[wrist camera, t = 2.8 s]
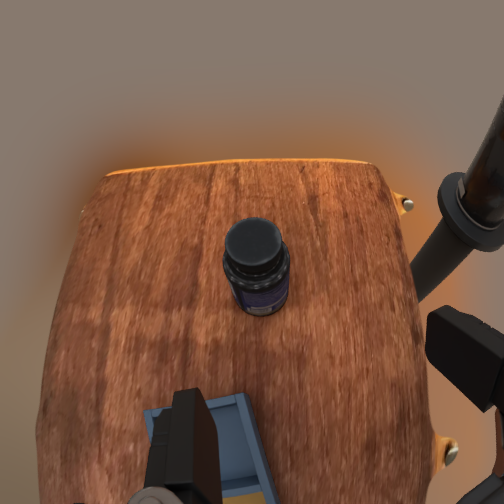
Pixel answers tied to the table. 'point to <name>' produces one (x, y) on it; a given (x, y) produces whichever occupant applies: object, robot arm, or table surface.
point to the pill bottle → (257, 266)
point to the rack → (236, 451)
